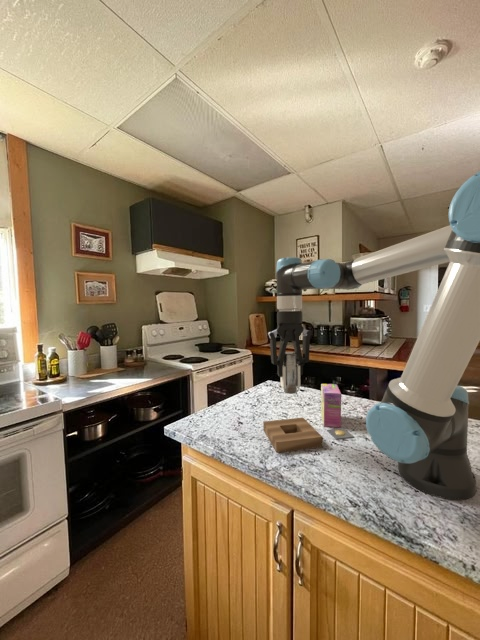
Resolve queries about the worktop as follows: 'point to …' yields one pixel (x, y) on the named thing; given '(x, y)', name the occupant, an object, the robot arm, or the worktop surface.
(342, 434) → the marker tile
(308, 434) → the board
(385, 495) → the worktop surface
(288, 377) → the peg
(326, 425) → the box
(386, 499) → the worktop surface
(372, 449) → the worktop surface
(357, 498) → the worktop surface
